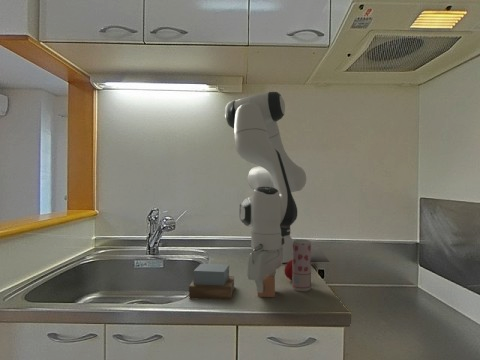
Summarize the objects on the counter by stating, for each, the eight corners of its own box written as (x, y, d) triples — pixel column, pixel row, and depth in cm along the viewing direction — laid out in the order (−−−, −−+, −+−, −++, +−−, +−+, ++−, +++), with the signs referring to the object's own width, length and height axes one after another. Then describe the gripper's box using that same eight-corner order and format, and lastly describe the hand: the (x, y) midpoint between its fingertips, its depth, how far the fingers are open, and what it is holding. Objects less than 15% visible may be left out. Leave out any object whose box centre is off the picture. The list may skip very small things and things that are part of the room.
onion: (288, 284, 127) (288, 259, 127) (281, 279, 132) (281, 256, 132) (304, 283, 128) (305, 259, 128) (297, 278, 134) (297, 255, 134)
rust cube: (257, 291, 120) (257, 275, 119) (274, 292, 119) (274, 275, 119) (257, 296, 115) (257, 279, 114) (274, 297, 114) (274, 280, 114)
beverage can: (288, 287, 124) (289, 239, 123) (304, 285, 126) (304, 238, 126) (298, 292, 118) (299, 243, 118) (314, 290, 121) (314, 241, 120)
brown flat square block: (196, 287, 125) (196, 275, 124) (234, 288, 124) (234, 276, 124) (189, 300, 113) (189, 286, 112) (230, 301, 112) (230, 287, 112)
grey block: (200, 276, 123) (200, 263, 123) (229, 277, 122) (229, 264, 122) (193, 284, 114) (193, 270, 114) (224, 285, 113) (224, 271, 113)
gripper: (263, 249, 106) (263, 300, 106) (286, 237, 124) (286, 281, 125) (242, 247, 108) (241, 296, 109) (267, 236, 127) (267, 278, 127)
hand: (265, 288), depth 117 cm, fingers open, 7 cm apart
